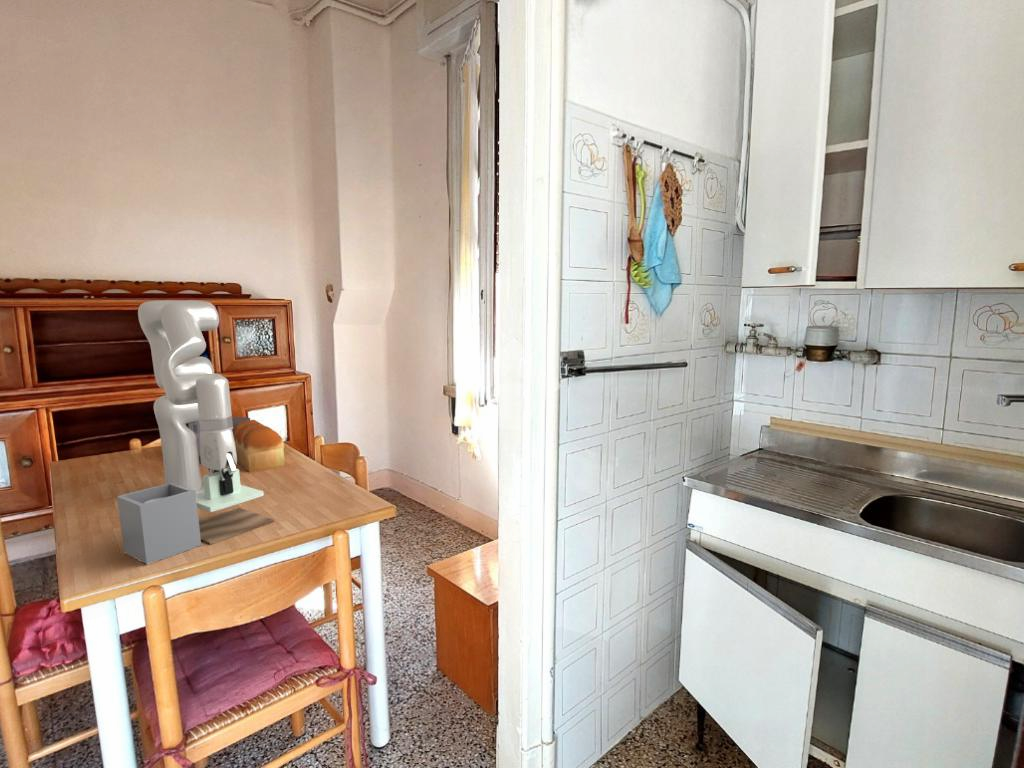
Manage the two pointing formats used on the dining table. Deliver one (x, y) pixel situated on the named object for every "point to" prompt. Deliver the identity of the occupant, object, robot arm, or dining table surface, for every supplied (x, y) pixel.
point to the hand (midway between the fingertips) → (223, 492)
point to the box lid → (215, 501)
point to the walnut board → (230, 524)
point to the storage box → (159, 522)
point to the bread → (258, 446)
